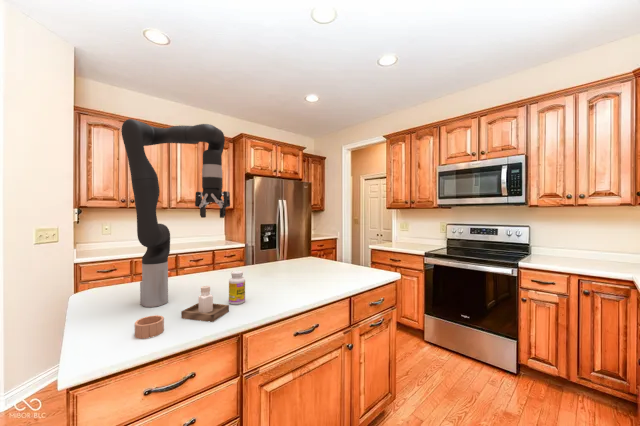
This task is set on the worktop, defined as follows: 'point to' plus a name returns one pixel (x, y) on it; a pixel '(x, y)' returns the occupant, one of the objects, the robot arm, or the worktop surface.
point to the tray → (211, 316)
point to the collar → (149, 326)
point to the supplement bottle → (236, 288)
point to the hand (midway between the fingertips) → (212, 217)
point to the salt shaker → (205, 300)
